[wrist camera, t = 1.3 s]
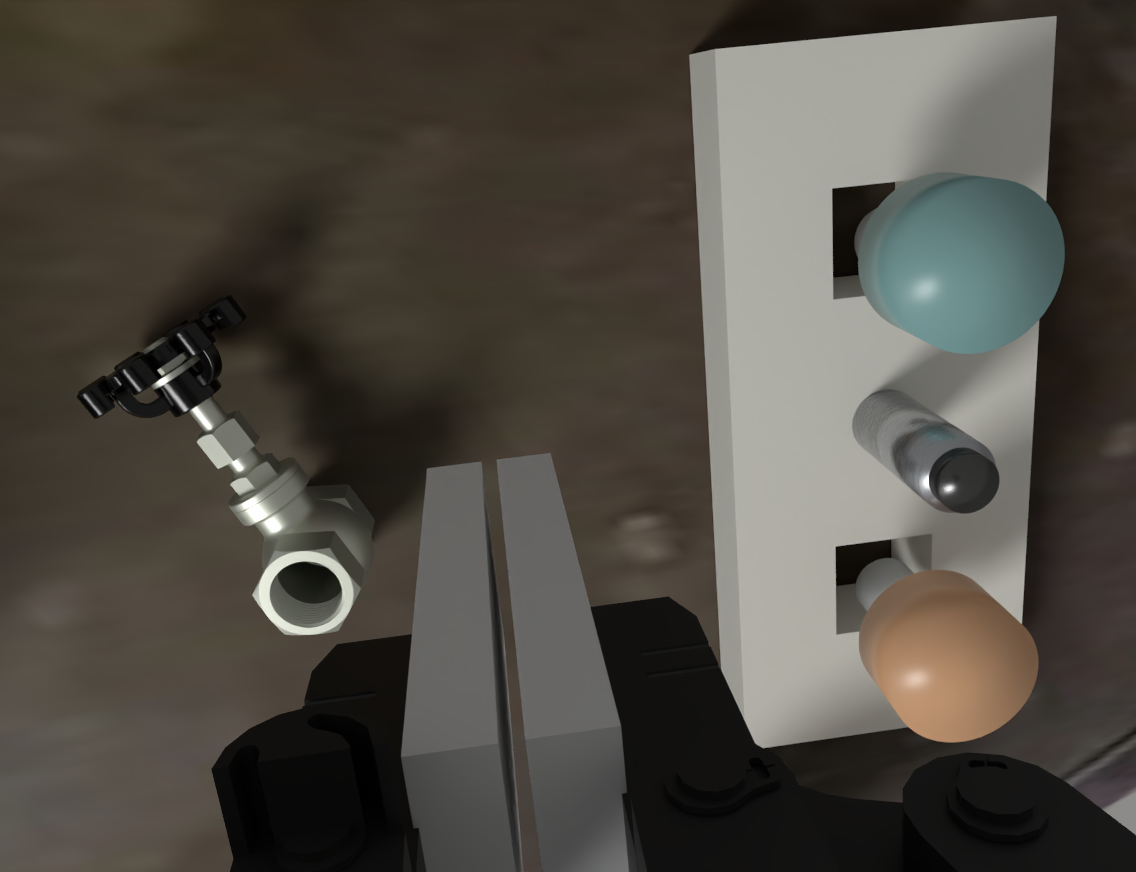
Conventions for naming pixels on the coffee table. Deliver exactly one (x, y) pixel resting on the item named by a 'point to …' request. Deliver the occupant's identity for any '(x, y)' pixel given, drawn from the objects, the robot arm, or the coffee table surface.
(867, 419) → the pot post
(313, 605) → the valve
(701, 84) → the mount board
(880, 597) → the knob terracotta
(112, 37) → the coffee table surface
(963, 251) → the knob teal
